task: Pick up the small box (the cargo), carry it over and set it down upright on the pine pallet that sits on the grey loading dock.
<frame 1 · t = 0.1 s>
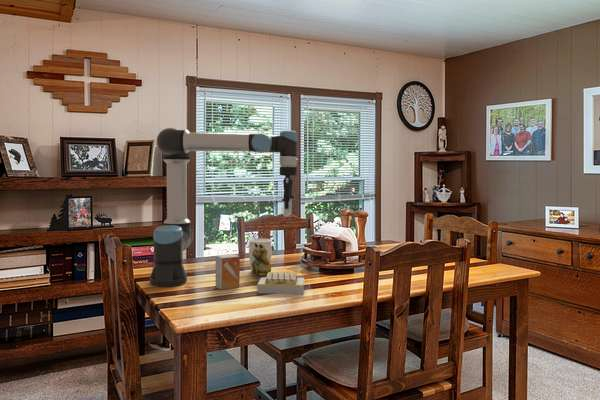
hand: (287, 214, 219), 28 cm above the table, fingers open, 13 cm apart
pallet: (281, 281, 201), resting on dock
decorative figurine: (262, 277, 222), on the table
small box: (227, 287, 203), on the table
jar: (260, 272, 232), on the table
dock: (281, 289, 201), on the table
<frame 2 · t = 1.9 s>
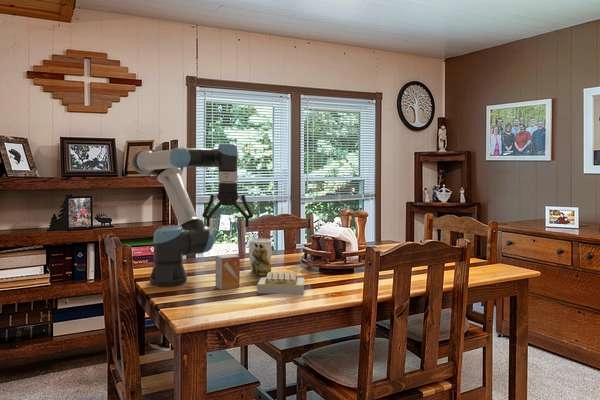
hand: (227, 235, 201), 21 cm above the table, fingers open, 13 cm apart
nothing on the table moved.
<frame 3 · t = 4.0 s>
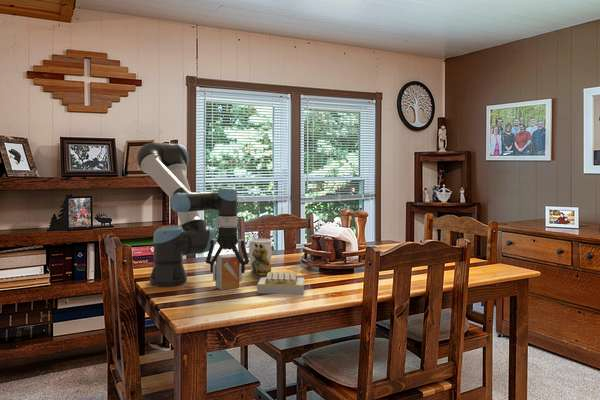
hand: (227, 280, 203), 3 cm above the table, fingers closed on small box, 10 cm apart
small box: (227, 287, 203), on the table, touching gripper
everything else where it was.
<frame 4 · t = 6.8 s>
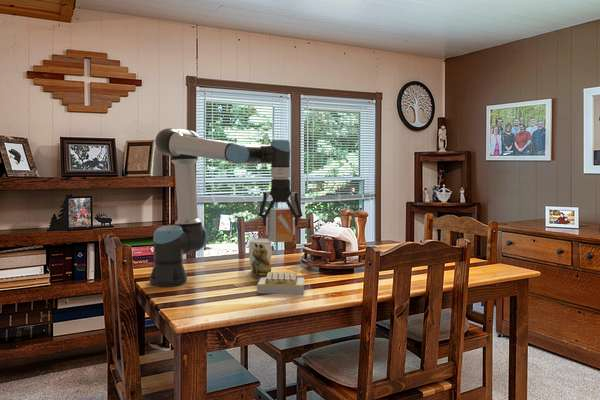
hand: (280, 234, 199), 22 cm above the table, fingers closed on small box, 10 cm apart
small box: (280, 241, 199), point 19 cm above the table, touching gripper
everything else where it was.
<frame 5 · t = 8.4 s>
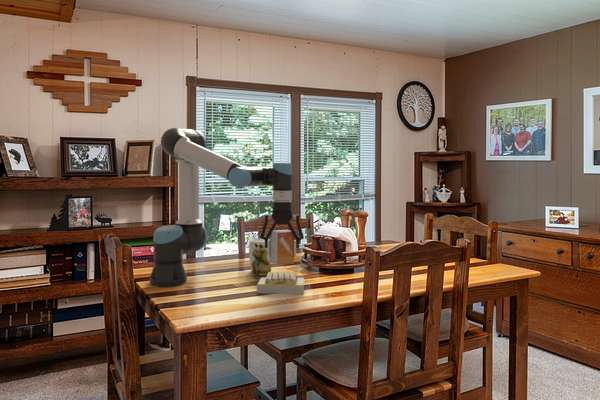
hand: (281, 256, 200), 13 cm above the table, fingers closed on small box, 10 cm apart
small box: (281, 263, 200), point 10 cm above the table, touching gripper
everything else where it was.
when the fingers open (10 cm above the table, at t = 9.7 s): small box drops 1 cm, resting on pallet.
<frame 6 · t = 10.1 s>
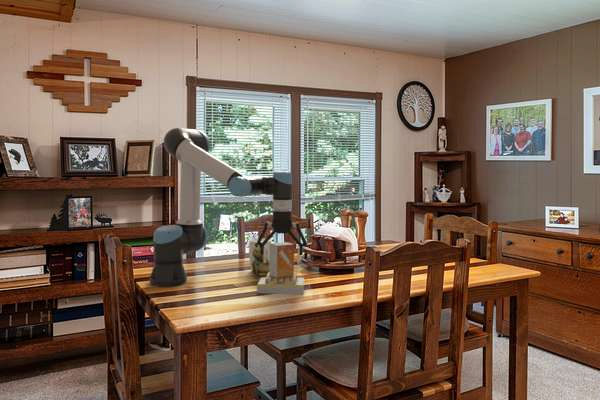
hand: (281, 262, 200), 11 cm above the table, fingers open, 13 cm apart
small box: (281, 276, 201), point 5 cm above the table, touching pallet
everything else where it was.
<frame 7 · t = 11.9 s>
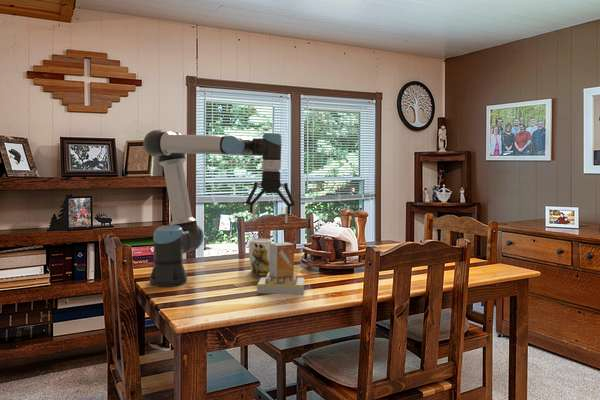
hand: (269, 221, 207), 26 cm above the table, fingers open, 13 cm apart
nothing on the table moved.
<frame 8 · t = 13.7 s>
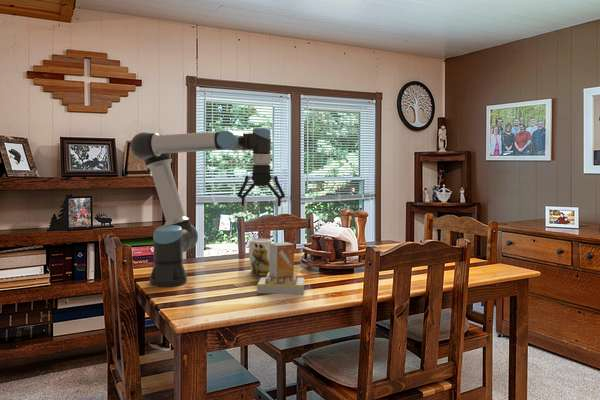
hand: (261, 214, 214), 29 cm above the table, fingers open, 13 cm apart
nothing on the table moved.
at the end: small box inside the target area on the dock (0.0 cm from its centre), point 5.3 cm above the dock's base; small box tilted 0°; the gripper is holding nothing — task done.
